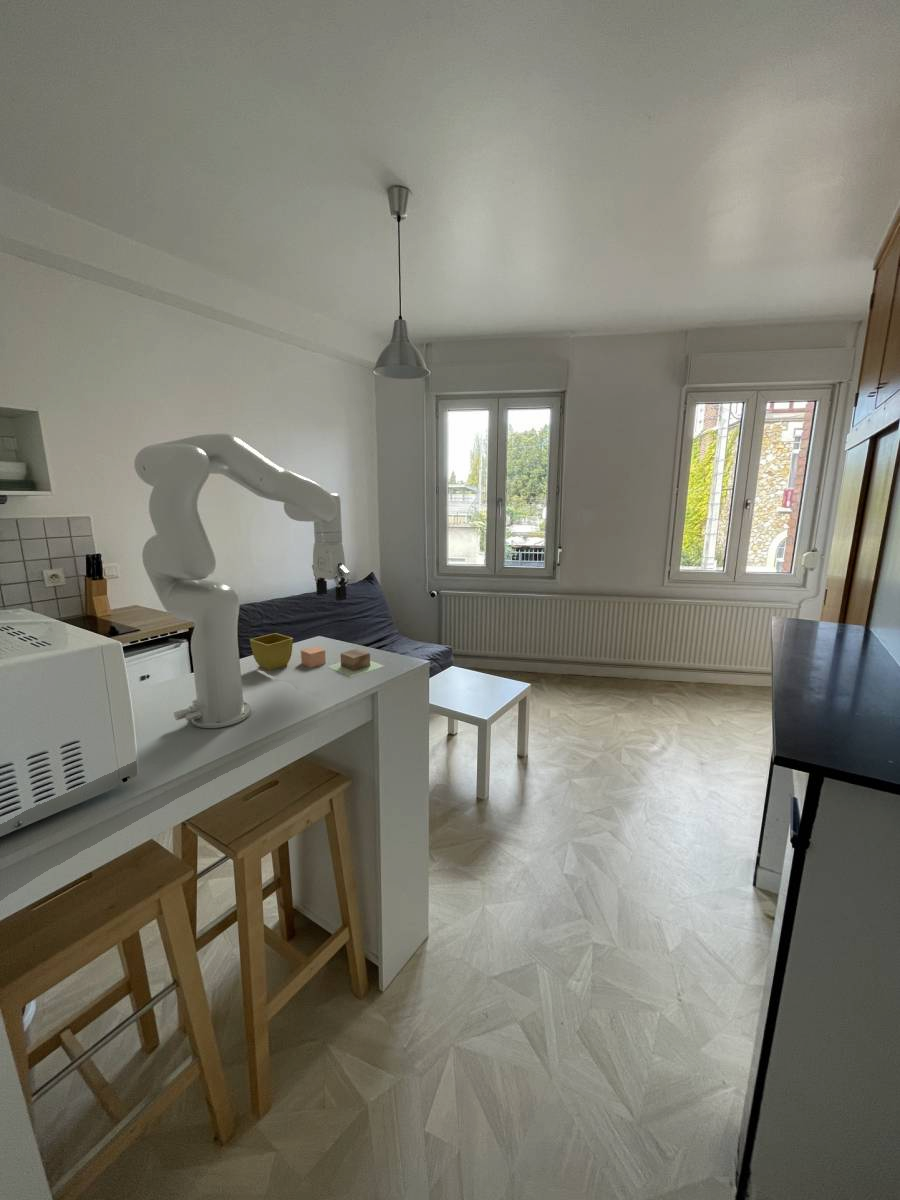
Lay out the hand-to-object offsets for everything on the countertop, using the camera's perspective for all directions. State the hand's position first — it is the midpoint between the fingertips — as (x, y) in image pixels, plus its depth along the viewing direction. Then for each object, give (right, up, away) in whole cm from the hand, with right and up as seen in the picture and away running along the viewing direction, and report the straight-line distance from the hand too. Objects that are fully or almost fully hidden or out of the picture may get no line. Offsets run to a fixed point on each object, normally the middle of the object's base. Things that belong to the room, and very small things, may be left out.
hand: (331, 597), depth 142 cm
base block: (+7, -20, +2) cm, 21 cm away
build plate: (+7, -21, +2) cm, 22 cm away
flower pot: (-17, -21, +2) cm, 27 cm away
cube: (-6, -21, +4) cm, 22 cm away
